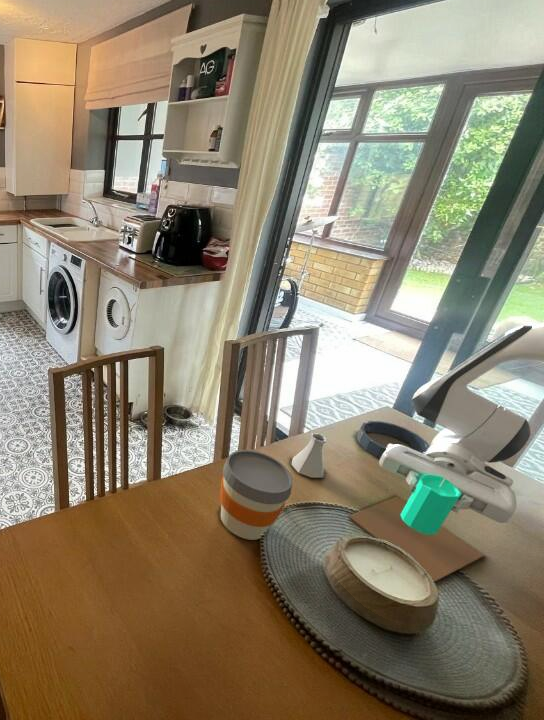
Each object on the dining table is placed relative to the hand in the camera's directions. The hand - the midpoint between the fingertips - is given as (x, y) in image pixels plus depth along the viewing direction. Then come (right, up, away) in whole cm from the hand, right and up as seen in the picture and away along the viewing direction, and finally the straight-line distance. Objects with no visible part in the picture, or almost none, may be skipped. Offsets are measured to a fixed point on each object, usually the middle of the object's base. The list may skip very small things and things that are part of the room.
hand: (433, 498), depth 81 cm
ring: (+18, +2, +30) cm, 35 cm away
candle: (+1, -7, +4) cm, 8 cm away
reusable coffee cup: (-33, -9, +9) cm, 36 cm away
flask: (-9, -2, +23) cm, 25 cm away
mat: (+1, -10, +5) cm, 11 cm away
